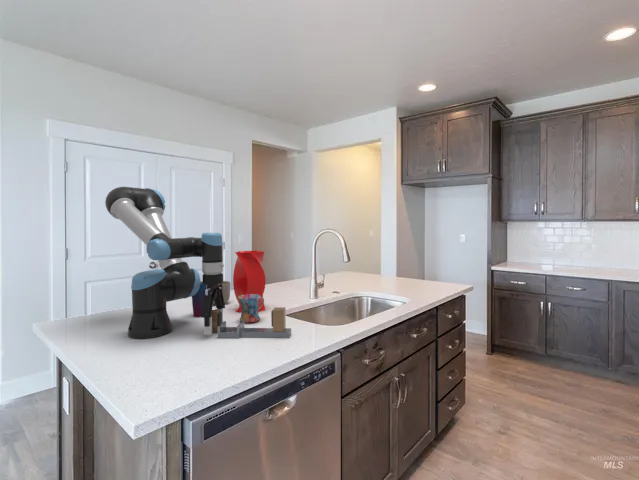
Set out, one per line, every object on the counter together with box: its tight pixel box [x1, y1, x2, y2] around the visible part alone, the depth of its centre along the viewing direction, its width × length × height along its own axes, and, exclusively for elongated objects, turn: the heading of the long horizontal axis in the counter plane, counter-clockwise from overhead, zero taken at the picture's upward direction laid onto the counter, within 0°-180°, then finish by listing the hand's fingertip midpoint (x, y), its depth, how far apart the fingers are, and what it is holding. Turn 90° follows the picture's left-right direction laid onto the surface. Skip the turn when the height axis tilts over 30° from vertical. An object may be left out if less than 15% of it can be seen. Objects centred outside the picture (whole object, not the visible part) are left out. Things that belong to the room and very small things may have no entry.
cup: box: [191, 280, 206, 318], centre depth 159 cm, size 7×7×15 cm
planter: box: [206, 280, 231, 306], centre depth 183 cm, size 12×12×11 cm
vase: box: [232, 250, 266, 313], centre depth 169 cm, size 15×14×28 cm
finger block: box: [211, 309, 222, 334], centre depth 135 cm, size 5×4×8 cm
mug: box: [238, 294, 265, 324], centre depth 151 cm, size 12×9×11 cm
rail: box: [216, 306, 292, 339], centre depth 130 cm, size 26×7×10 cm, turn 87°
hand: (214, 329), depth 135 cm, fingers open, 11 cm apart
